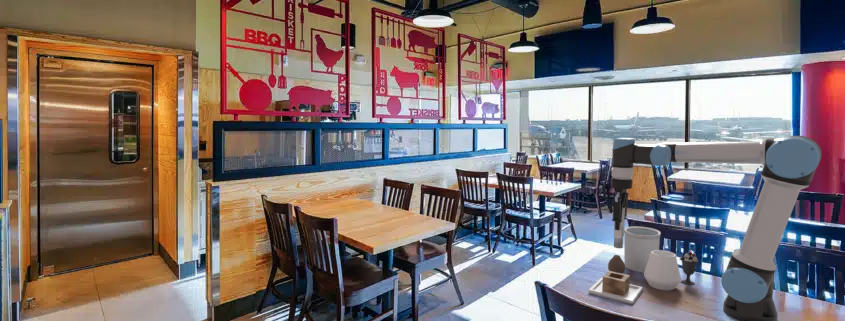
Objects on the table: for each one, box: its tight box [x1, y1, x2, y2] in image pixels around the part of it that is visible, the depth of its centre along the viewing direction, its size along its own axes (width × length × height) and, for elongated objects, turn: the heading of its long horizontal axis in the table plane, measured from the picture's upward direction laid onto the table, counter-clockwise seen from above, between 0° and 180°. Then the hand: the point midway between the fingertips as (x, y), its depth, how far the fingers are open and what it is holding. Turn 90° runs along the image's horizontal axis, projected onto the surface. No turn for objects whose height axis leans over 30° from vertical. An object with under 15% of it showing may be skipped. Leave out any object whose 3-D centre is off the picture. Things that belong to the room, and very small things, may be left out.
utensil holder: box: [623, 226, 662, 273], centre depth 193 cm, size 15×15×18 cm
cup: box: [643, 249, 682, 291], centre depth 172 cm, size 13×13×14 cm
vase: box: [607, 254, 626, 274], centre depth 185 cm, size 7×7×9 cm
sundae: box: [679, 248, 700, 286], centre depth 175 cm, size 7×7×15 cm
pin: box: [613, 207, 625, 249], centre depth 164 cm, size 3×3×16 cm
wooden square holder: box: [602, 270, 631, 296], centre depth 167 cm, size 8×8×6 cm
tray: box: [588, 276, 644, 305], centre depth 167 cm, size 16×16×2 cm
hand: (618, 236), depth 165 cm, fingers closed on pin, 3 cm apart
